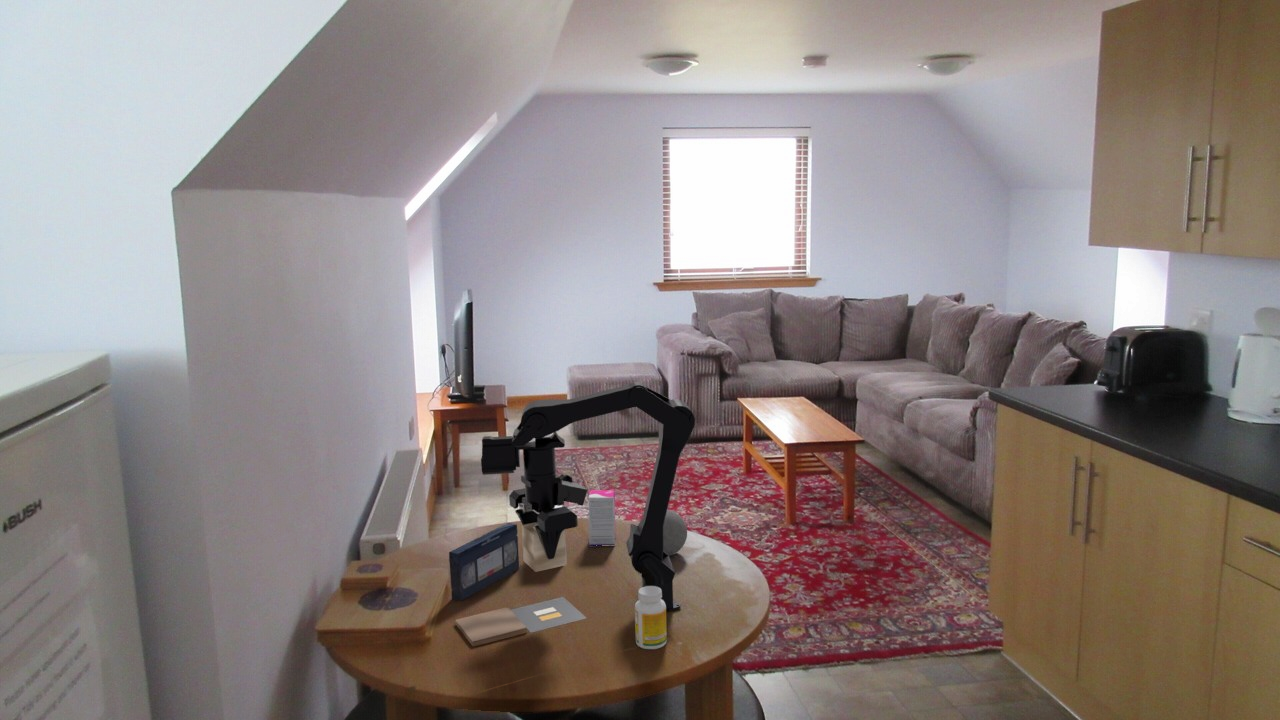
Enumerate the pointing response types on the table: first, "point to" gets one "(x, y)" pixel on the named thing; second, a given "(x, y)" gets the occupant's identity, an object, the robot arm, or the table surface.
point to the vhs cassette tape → (483, 561)
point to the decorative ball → (673, 533)
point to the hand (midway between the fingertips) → (544, 553)
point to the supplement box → (601, 517)
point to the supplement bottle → (650, 618)
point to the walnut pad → (490, 626)
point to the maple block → (541, 550)
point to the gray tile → (547, 614)
